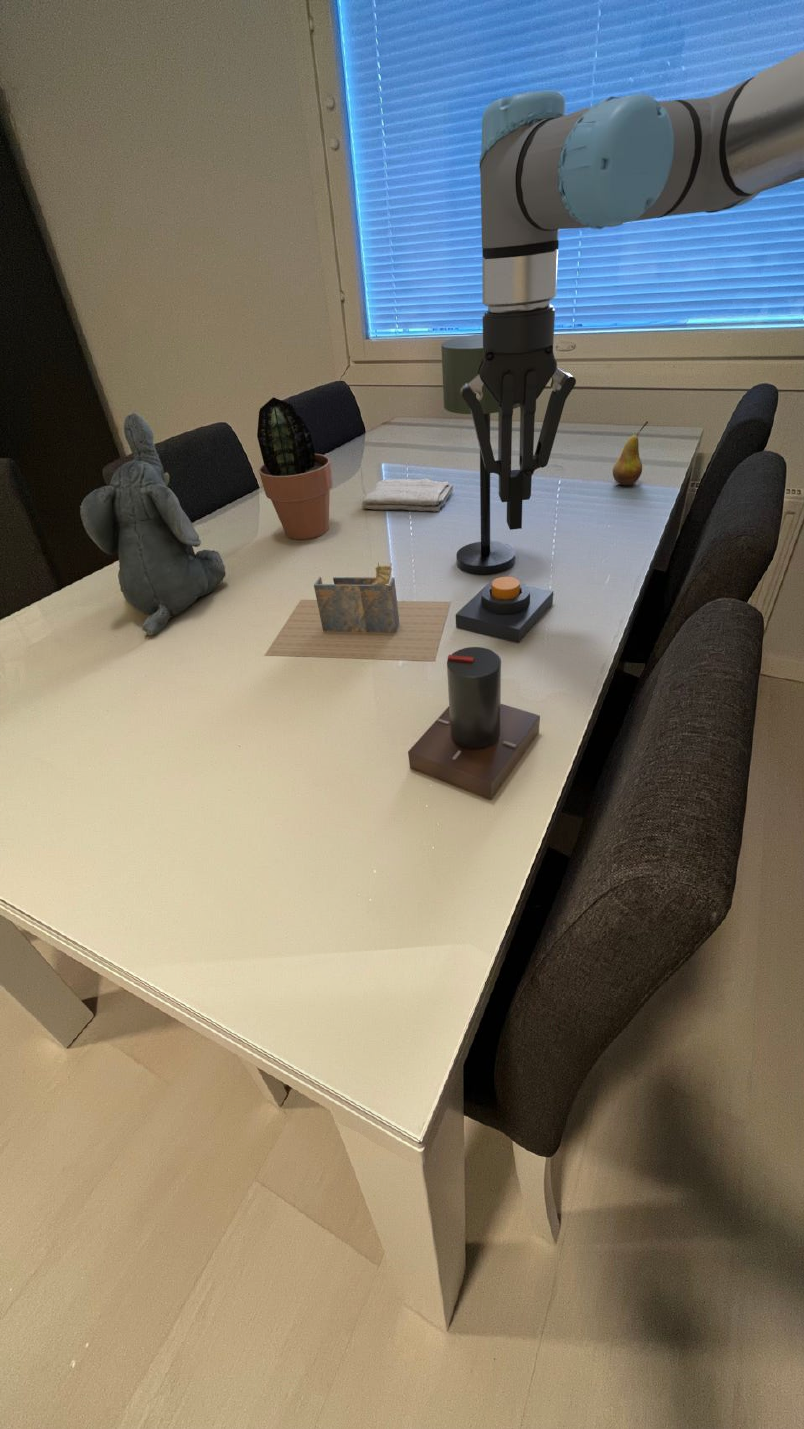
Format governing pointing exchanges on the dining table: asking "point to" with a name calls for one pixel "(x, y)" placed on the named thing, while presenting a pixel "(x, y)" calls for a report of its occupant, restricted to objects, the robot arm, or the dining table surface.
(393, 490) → the washcloth
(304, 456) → the potted plant
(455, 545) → the dining table surface
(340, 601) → the architectural model on board
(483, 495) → the desk lamp
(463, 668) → the dimmer knob
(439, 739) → the dimmer panel
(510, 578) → the button
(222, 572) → the stuffed elephant
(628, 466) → the fruit
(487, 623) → the switch box
